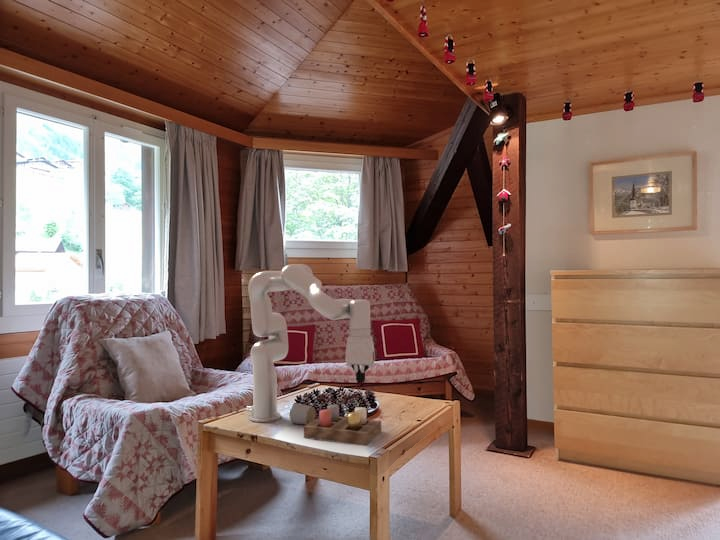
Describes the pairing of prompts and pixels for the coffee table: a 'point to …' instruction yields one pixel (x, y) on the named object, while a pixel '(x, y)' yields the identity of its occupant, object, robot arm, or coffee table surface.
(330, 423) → the pink cylinder
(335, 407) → the gray block
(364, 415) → the cream white block
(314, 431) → the box
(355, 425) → the gold round piece
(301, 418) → the ceramic mug
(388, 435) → the coffee table surface
